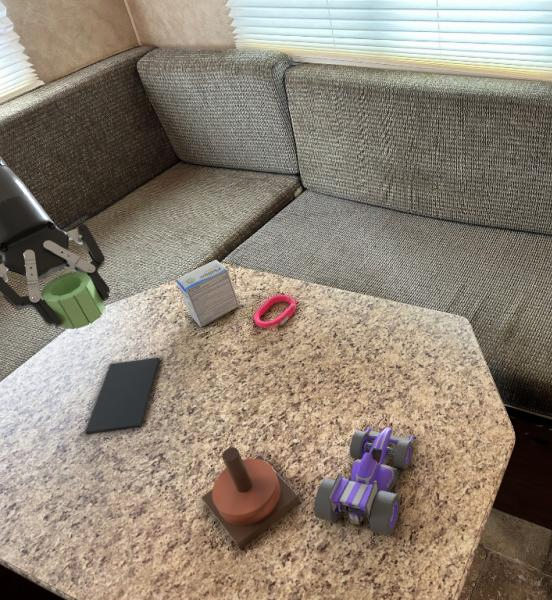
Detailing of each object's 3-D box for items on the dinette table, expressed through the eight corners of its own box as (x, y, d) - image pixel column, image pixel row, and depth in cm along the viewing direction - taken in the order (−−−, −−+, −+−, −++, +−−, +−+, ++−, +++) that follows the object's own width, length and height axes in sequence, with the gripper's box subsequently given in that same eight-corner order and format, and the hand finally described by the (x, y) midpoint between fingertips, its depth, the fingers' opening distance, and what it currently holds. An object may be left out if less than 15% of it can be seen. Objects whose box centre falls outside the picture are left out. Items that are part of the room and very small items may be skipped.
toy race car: (424, 442, 83) (421, 412, 79) (390, 543, 72) (384, 514, 68) (359, 429, 85) (352, 399, 81) (317, 525, 75) (307, 496, 71)
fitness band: (275, 333, 103) (273, 327, 102) (248, 324, 105) (246, 317, 104) (302, 304, 108) (301, 298, 107) (276, 296, 110) (275, 290, 109)
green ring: (68, 336, 80) (50, 307, 77) (52, 315, 83) (35, 286, 80) (111, 313, 83) (96, 284, 79) (94, 293, 86) (79, 266, 83)
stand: (240, 550, 73) (215, 503, 66) (204, 503, 79) (178, 455, 72) (300, 502, 77) (283, 453, 71) (262, 461, 83) (243, 411, 76)
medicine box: (229, 296, 112) (215, 258, 106) (241, 307, 109) (228, 268, 103) (190, 316, 108) (174, 278, 102) (201, 328, 105) (185, 290, 100)
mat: (140, 427, 89) (139, 424, 89) (86, 434, 89) (84, 431, 89) (160, 359, 100) (159, 357, 100) (111, 366, 100) (110, 363, 100)
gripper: (-58, 224, 73) (28, 336, 74) (57, 174, 81) (134, 276, 82) (-48, 245, 80) (32, 347, 81) (58, 197, 87) (130, 292, 88)
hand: (83, 311), depth 81 cm, fingers closed on green ring, 6 cm apart
